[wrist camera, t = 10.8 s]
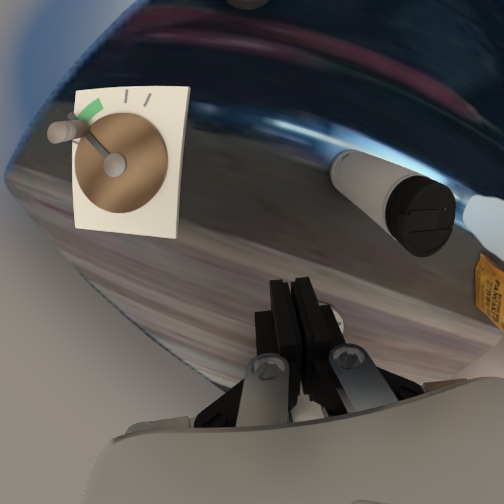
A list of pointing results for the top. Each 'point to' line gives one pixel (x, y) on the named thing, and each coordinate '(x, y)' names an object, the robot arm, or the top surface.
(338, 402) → the robot arm
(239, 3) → the candle holder
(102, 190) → the dial
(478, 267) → the pancake mix bag
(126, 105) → the dial plate
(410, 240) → the travel mug
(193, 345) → the top surface
